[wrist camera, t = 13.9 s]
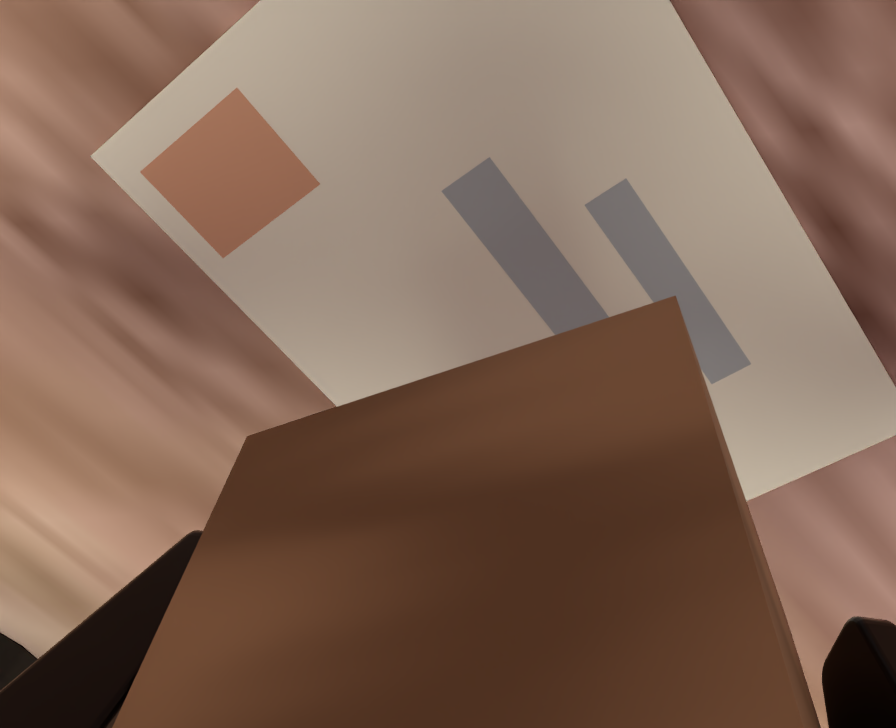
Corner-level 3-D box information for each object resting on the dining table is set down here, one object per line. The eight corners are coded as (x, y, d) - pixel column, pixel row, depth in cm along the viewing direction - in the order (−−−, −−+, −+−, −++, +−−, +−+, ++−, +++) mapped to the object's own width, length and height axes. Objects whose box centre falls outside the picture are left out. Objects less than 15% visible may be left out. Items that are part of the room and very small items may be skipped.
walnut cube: (429, 695, 12) (373, 1162, 8) (246, 436, 10) (27, 908, 5) (786, 621, 11) (952, 1147, 6) (675, 295, 8) (822, 793, 4)
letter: (913, 419, 16) (918, 425, 16) (525, 592, 20) (526, 599, 19) (526, -243, 11) (526, -244, 11) (95, 152, 14) (90, 156, 14)
